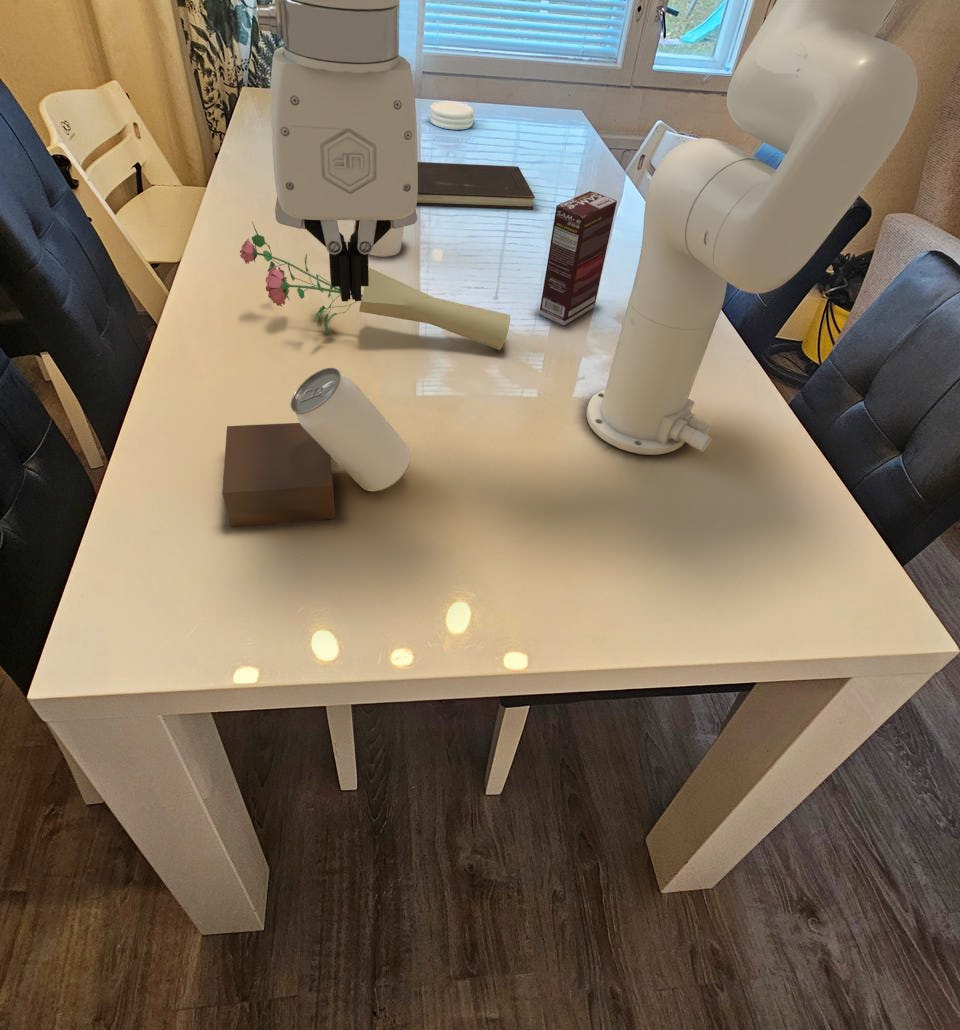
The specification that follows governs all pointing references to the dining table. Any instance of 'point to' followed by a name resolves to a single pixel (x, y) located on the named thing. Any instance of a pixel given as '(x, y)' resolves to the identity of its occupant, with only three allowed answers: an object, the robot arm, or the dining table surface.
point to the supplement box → (576, 256)
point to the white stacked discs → (451, 115)
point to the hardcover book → (472, 186)
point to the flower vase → (392, 301)
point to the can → (351, 429)
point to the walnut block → (275, 475)
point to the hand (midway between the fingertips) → (349, 293)
